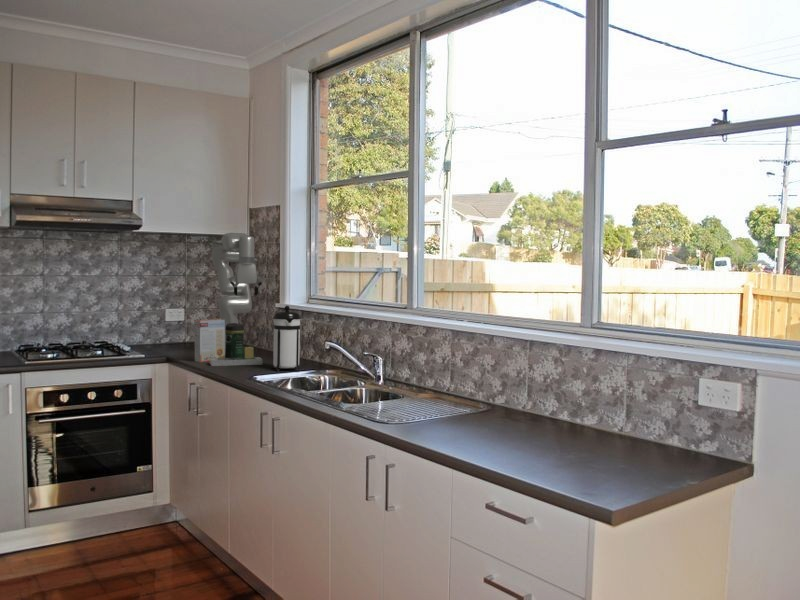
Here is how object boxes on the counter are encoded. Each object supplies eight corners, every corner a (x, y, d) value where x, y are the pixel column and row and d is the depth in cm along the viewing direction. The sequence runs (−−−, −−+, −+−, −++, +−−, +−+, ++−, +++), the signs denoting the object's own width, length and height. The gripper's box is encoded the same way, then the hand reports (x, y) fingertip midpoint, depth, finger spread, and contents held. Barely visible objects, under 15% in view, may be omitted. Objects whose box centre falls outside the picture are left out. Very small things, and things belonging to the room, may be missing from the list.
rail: (209, 364, 349) (209, 358, 349) (259, 363, 357) (259, 356, 357) (211, 366, 342) (211, 360, 341) (262, 365, 350) (262, 358, 350)
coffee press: (310, 369, 341) (311, 305, 340) (288, 373, 327) (289, 306, 326) (281, 365, 350) (282, 304, 349) (259, 369, 336) (260, 305, 335)
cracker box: (218, 359, 367) (219, 318, 366) (225, 361, 363) (225, 319, 362) (193, 362, 357) (194, 319, 356) (199, 363, 353) (200, 320, 352)
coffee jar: (246, 359, 369) (246, 323, 368) (232, 361, 364) (233, 324, 363) (236, 357, 376) (236, 322, 375) (222, 358, 370) (223, 322, 370)
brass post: (243, 363, 353) (243, 346, 352) (252, 362, 354) (252, 346, 354) (245, 364, 349) (245, 347, 349) (253, 364, 350) (253, 347, 350)
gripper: (262, 261, 366) (262, 295, 367) (227, 260, 360) (227, 294, 361) (265, 261, 359) (264, 295, 360) (229, 260, 353) (229, 295, 354)
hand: (246, 295), depth 360 cm, fingers open, 9 cm apart
